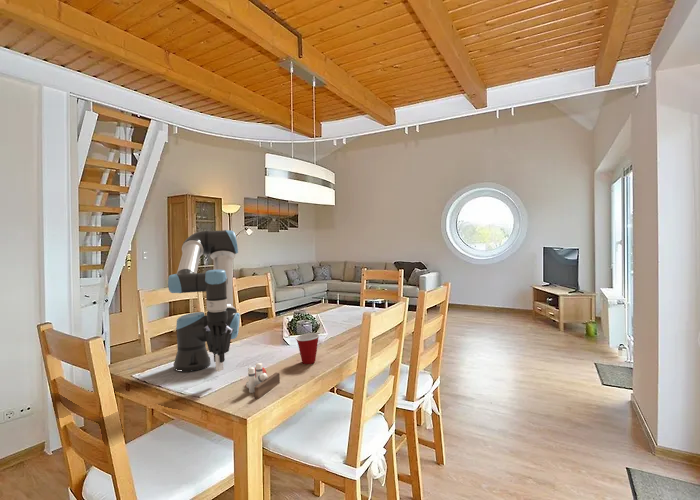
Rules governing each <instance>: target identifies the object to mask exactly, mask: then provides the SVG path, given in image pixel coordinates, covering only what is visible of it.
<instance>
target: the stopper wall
mask: <svg viewBox="0 0 700 500" xmlns="http://www.w3.org/2000/svg"><path fill="white" fill-rule="evenodd" d="M280 379H281V377H280V372H274V373H273V374H272V375H270V376H268V377H267V379H265V380H264V381H263V382H261V383H260V384H258V385H256V386H255V387H254V390H255V392H254V399H257V400H260V399H261V398H262V397H263V396H265V395H266V394H267V393H269V392H270V391H271V390H272V389H274V388H275V387H277V386H278V385H280V383H281V381H280Z"/></svg>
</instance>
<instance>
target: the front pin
mask: <svg viewBox="0 0 700 500" xmlns="http://www.w3.org/2000/svg"><path fill="white" fill-rule="evenodd" d="M266 373H267V372H266ZM266 373H263V374H261V375H259V376H257V377H256V378H255V384H258V383H260V382H262V381H264V380H266V379H267V378H268V377H269V376H268V374H266ZM245 386H246V388H247V389H249V380H248V381H247V382H246V383H245Z"/></svg>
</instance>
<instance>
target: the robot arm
mask: <svg viewBox="0 0 700 500" xmlns="http://www.w3.org/2000/svg"><path fill="white" fill-rule="evenodd" d="M237 254H239V249H238V241H237V236H236V233H235V231H234V230H229V229H228V230H227V229H223V230H200V231H197V232H195V233H192V234H191V235H190V236H188V237H187V238H186V239H185V241H183V244H182V246H181V257H180V261H179V265H178V267H177V268H178V269H177V271H176V273H174V274H170V275H169V276H168V278H167V279H168V280H167V287H168V291H169V292H170V293H171V294H185V293H202V292H205V294H206V296H205V297H206V311H207V312H206V314H205V312H204V311H196V312H192V313H187V314H184V315H183V314H182V315H181V316H179V317H178V318H177V319H176V326H175V329H176V330H175V331H176V344H177V345H176V348H177V351H176V355H175V358H174V362H173V369H174V368H175V369H177V370H182V371H190V372H192V371H191V370H196V371H199V370H198V369H201V370H203V369H202V368H204V369H206V368H208V367H209V366H210V365H211V357H210V356H209V353H212V354H213V361H214V363H215V372H217V373H219V372H221V371H223V370H224V362H225V361H226V360H225V359H226V358H225V354H227V353H228V352H230V346H231V341H232V340H235V339H237V337H238V336H239V330H240V321H241V320H240V319H241V314H240V312H237V310H238V309H237V308H236V307H235V306H234V291H233V290H234V289H233V288H234V286H233V283H234V282H233V260H234V259H235V258H236V255H237ZM203 255H209V257H210V258H211V259H212V261H213V269H209V270H206V271H205V272H201V273H200V272H198V270H199V263H200V258H201V256H203ZM206 344H207V346H206ZM207 349H208V350H207ZM208 352H209V353H208ZM207 366H208V367H207ZM205 367H206V368H205Z"/></svg>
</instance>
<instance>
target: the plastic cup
mask: <svg viewBox="0 0 700 500" xmlns="http://www.w3.org/2000/svg"><path fill="white" fill-rule="evenodd" d="M319 338H320V334H319V333H315V332H314V333H313V332H311V333H305V334H300V335H297V336H295V340H296V342H297V345H298V350H299V355H300V358H301V363H302V364H304V365H311V364H315V363H316V359H317V353H318V352H317V351H318V343H319Z"/></svg>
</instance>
